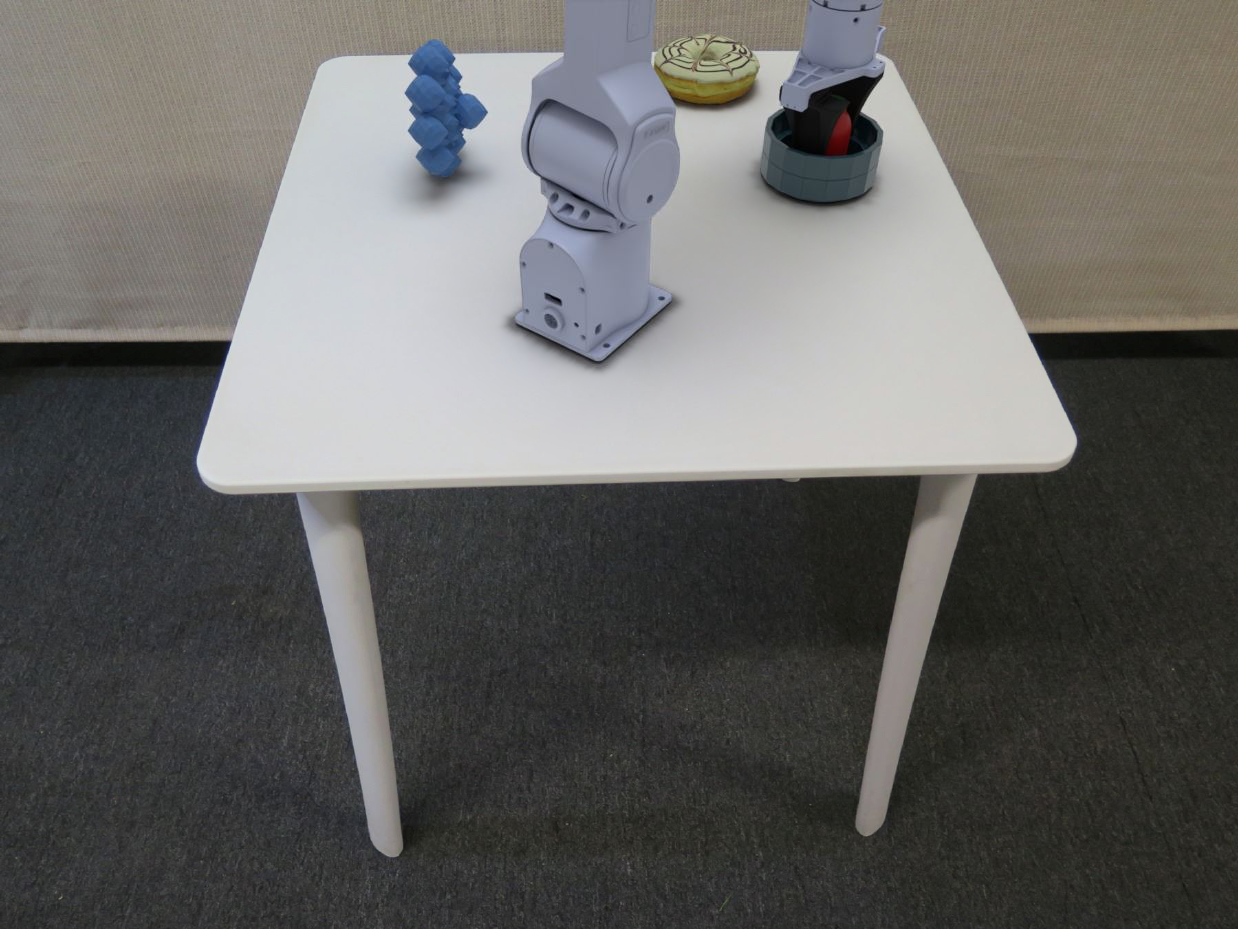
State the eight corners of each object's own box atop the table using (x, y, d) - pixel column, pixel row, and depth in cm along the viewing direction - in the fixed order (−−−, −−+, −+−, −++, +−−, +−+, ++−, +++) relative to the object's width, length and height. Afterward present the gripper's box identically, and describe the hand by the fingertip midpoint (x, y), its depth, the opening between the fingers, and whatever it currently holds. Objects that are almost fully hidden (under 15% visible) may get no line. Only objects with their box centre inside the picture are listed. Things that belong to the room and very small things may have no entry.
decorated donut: (767, 72, 103) (772, 35, 100) (741, 117, 96) (745, 79, 93) (672, 56, 106) (674, 20, 103) (640, 99, 98) (641, 61, 96)
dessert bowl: (841, 219, 83) (850, 170, 80) (739, 182, 88) (744, 135, 84) (891, 171, 89) (902, 124, 86) (794, 138, 93) (800, 92, 90)
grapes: (485, 210, 84) (471, 72, 75) (405, 208, 84) (383, 69, 75) (501, 143, 92) (490, 11, 83) (429, 141, 92) (411, 9, 84)
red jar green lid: (829, 189, 86) (841, 117, 81) (786, 174, 88) (796, 103, 83) (850, 169, 88) (864, 98, 84) (809, 155, 90) (820, 85, 85)
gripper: (850, 41, 72) (821, 206, 81) (932, -20, 80) (896, 138, 90) (766, 17, 74) (747, 180, 84) (853, -39, 83) (827, 116, 92)
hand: (819, 157), depth 87 cm, fingers closed on red jar green lid, 4 cm apart
